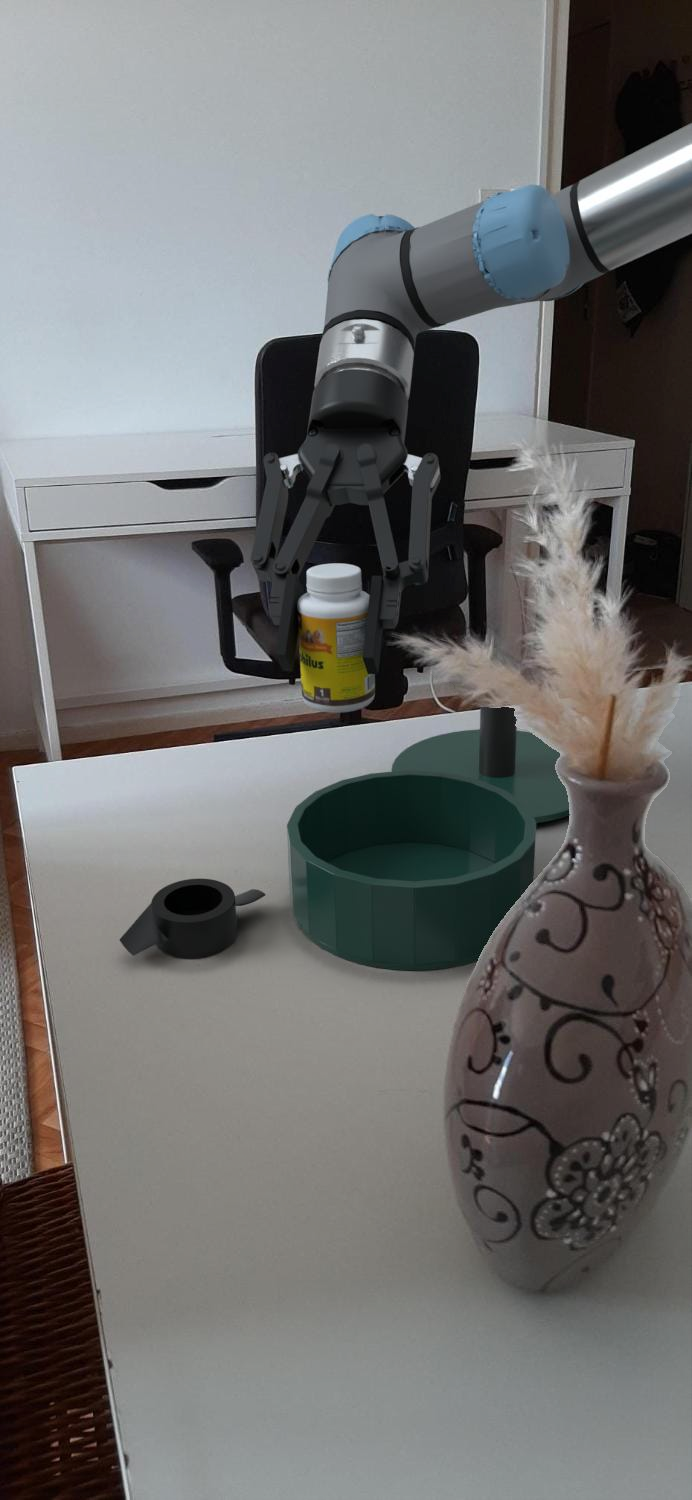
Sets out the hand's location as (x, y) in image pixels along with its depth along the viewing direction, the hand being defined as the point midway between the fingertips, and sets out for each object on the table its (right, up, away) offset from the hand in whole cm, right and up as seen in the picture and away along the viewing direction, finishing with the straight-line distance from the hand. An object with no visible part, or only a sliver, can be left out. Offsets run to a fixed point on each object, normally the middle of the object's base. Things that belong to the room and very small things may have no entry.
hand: (326, 664), depth 82 cm
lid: (+15, -8, +21) cm, 27 cm away
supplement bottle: (+1, -3, +5) cm, 6 cm away
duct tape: (-9, -19, -1) cm, 21 cm away
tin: (+6, -17, +3) cm, 19 cm away
